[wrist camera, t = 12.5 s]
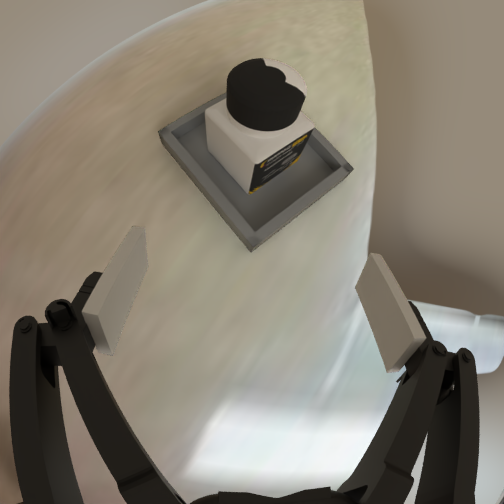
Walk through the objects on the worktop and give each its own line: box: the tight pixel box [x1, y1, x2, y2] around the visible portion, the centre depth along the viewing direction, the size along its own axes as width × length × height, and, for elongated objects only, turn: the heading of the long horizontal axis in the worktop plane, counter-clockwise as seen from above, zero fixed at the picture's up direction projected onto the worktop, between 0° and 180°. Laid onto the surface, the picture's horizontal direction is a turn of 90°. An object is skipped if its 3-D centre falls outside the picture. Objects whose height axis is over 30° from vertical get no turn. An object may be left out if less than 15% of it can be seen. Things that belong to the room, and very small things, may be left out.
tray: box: [158, 92, 354, 252], centre depth 28 cm, size 16×14×2 cm
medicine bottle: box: [205, 58, 315, 195], centre depth 23 cm, size 7×7×12 cm
